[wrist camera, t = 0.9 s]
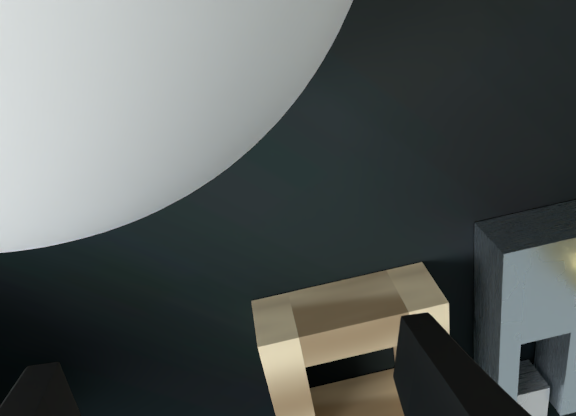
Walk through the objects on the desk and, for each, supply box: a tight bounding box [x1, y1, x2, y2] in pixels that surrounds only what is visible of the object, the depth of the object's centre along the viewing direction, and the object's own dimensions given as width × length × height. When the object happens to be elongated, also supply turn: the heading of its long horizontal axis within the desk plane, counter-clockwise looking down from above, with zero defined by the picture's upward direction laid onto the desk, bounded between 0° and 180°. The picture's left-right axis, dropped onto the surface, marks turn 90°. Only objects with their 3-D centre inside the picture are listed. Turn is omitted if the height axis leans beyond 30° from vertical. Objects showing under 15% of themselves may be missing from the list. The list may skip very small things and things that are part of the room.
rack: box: [251, 262, 450, 416], centre depth 25 cm, size 8×8×3 cm
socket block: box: [473, 200, 576, 416], centre depth 25 cm, size 11×9×3 cm
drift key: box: [517, 359, 550, 416], centre depth 29 cm, size 6×2×2 cm, turn 10°
